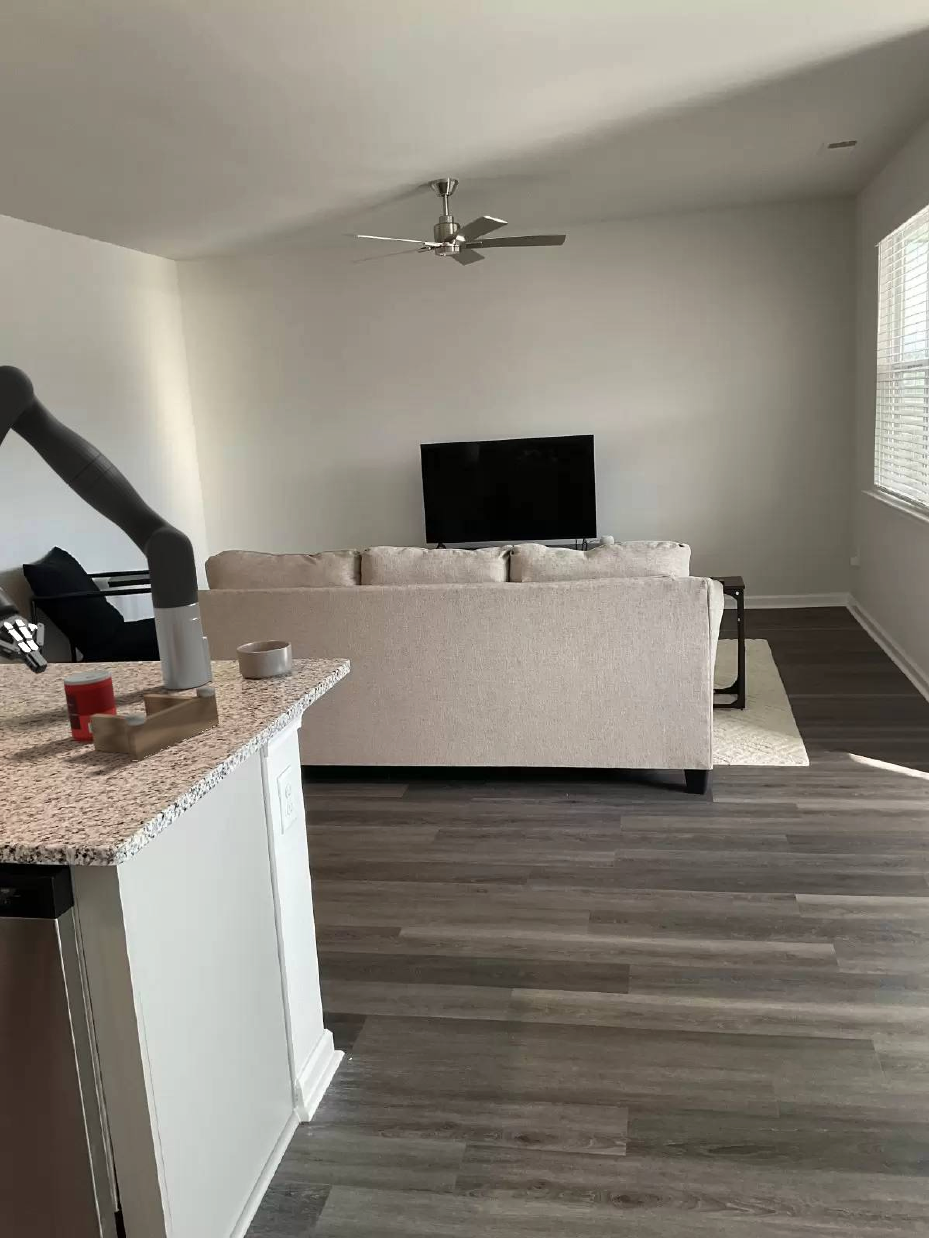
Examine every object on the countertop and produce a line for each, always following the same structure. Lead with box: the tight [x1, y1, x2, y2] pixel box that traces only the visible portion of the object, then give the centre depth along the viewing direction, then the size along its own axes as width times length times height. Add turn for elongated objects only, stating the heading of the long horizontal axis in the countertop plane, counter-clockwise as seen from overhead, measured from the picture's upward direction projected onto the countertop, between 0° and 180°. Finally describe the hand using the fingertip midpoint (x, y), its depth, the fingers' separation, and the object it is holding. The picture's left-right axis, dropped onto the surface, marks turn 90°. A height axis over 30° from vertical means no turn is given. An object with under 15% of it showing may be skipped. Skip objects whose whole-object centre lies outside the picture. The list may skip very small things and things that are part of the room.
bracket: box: [90, 685, 220, 761], centre depth 170 cm, size 13×20×7 cm, turn 154°
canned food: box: [63, 669, 118, 743], centre depth 175 cm, size 8×8×11 cm
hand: (42, 670), depth 179 cm, fingers closed
